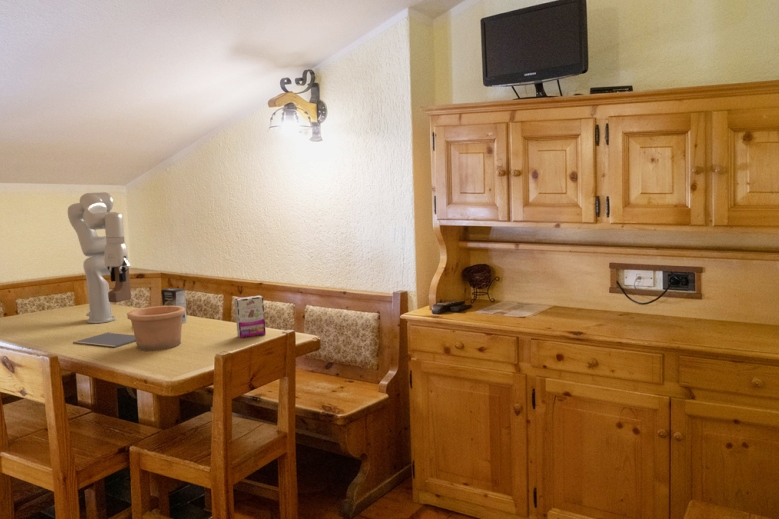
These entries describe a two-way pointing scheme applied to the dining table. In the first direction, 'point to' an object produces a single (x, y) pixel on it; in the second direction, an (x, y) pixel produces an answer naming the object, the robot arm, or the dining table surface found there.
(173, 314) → the pottery
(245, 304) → the candy bar box
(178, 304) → the coffee box
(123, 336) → the mat
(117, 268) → the brown boot
